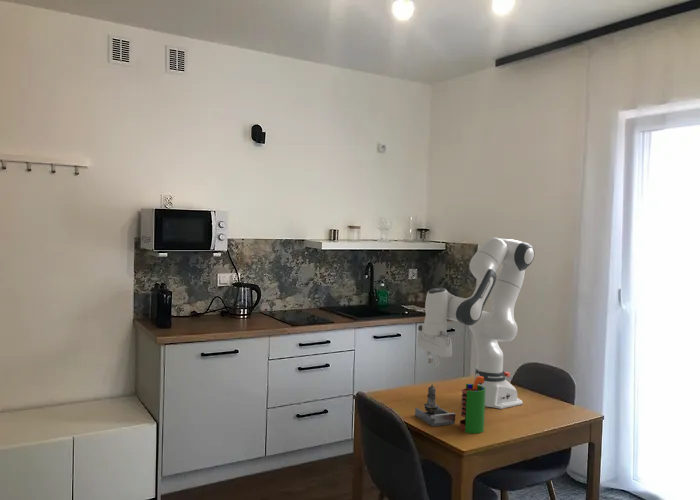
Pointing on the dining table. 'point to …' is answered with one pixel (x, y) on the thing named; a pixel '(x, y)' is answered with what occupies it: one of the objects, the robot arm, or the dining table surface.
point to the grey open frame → (436, 417)
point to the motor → (473, 407)
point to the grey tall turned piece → (431, 402)
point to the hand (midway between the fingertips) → (433, 364)
